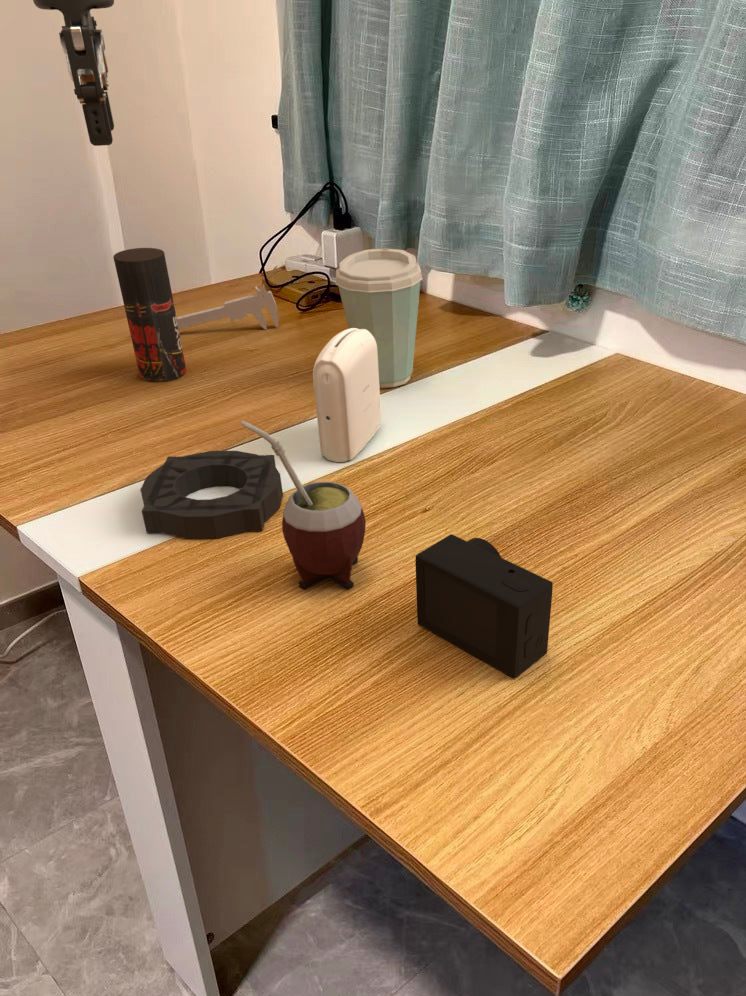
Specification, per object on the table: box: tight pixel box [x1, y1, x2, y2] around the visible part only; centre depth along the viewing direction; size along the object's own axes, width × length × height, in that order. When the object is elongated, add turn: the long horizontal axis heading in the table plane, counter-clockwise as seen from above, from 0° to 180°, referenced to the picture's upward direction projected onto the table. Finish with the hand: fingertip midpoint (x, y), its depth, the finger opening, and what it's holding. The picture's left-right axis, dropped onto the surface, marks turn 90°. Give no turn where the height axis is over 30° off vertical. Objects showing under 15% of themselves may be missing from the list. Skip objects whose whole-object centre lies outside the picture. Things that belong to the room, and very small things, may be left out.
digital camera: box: [414, 533, 554, 680], centre depth 70 cm, size 10×5×7 cm, turn 48°
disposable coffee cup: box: [335, 248, 424, 389], centre depth 110 cm, size 11×11×15 cm
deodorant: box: [112, 247, 187, 383], centre depth 112 cm, size 6×6×15 cm
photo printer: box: [312, 328, 382, 463], centre depth 96 cm, size 10×4×12 cm, turn 162°
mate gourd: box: [241, 419, 367, 591], centre depth 74 cm, size 8×8×15 cm
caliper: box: [176, 283, 280, 331], centre depth 126 cm, size 20×1×6 cm, turn 101°
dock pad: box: [140, 450, 284, 540], centre depth 88 cm, size 13×13×2 cm
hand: (103, 137), depth 94 cm, fingers open, 8 cm apart
